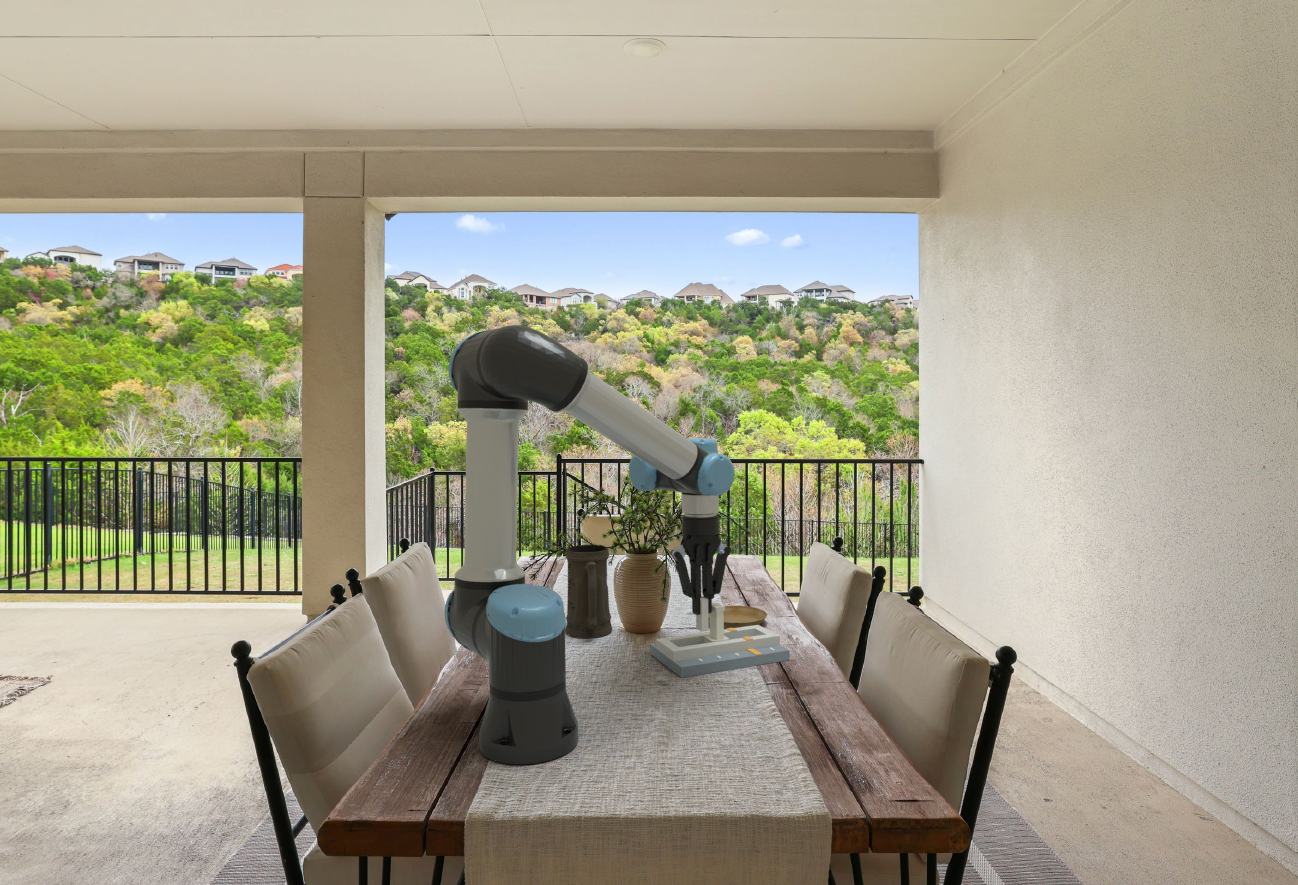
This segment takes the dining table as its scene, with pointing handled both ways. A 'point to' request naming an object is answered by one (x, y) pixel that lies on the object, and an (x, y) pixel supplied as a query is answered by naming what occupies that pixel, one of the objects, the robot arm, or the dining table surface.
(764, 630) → the console
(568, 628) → the beer stein
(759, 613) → the plant saucer
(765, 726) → the dining table surface
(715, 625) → the fader tab
